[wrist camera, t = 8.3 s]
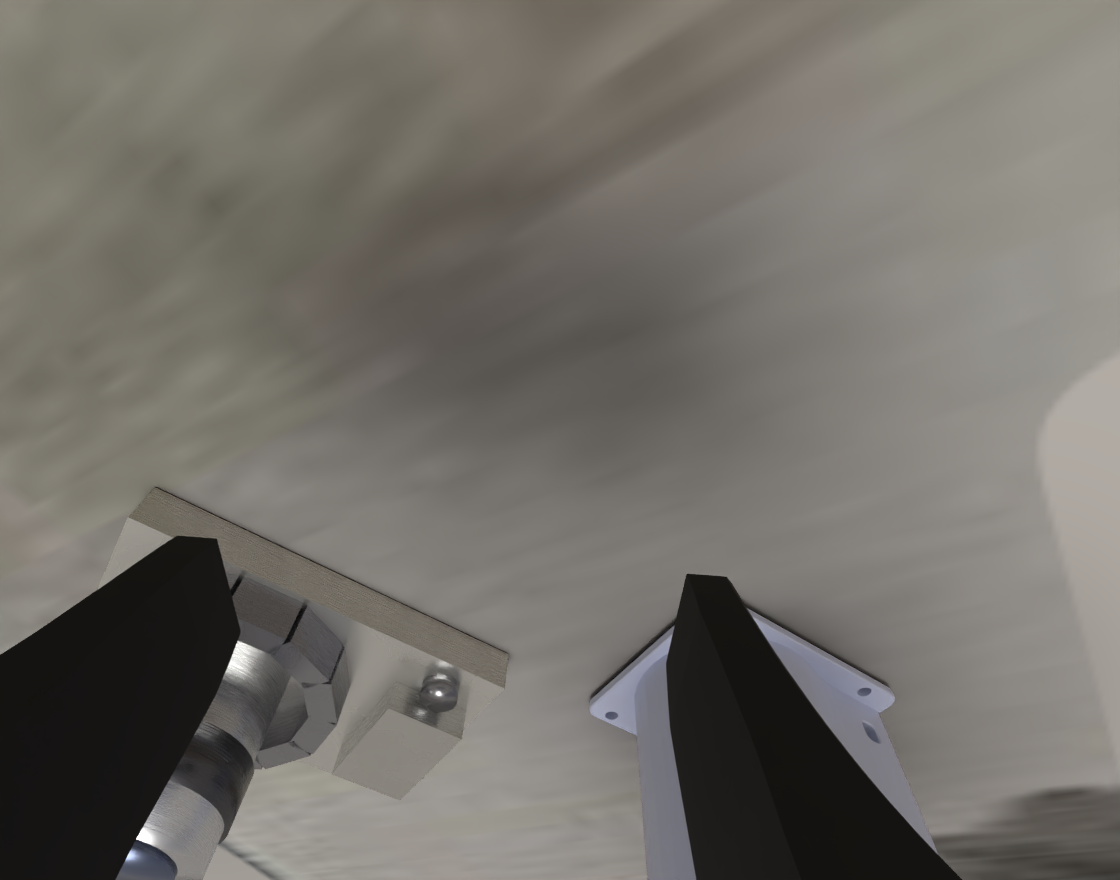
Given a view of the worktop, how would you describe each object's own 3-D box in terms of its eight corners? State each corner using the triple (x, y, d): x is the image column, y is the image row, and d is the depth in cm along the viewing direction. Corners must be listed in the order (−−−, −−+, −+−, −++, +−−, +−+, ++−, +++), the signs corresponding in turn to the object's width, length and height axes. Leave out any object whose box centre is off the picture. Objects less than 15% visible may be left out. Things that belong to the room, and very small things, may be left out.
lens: (304, 700, 26) (218, 915, 20) (181, 688, 26) (56, 901, 20) (290, 616, 23) (185, 834, 17) (152, 603, 23) (-1, 818, 17)
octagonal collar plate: (508, 654, 27) (499, 727, 24) (404, 763, 31) (386, 835, 28) (155, 487, 23) (97, 551, 20) (89, 637, 27) (33, 707, 24)
